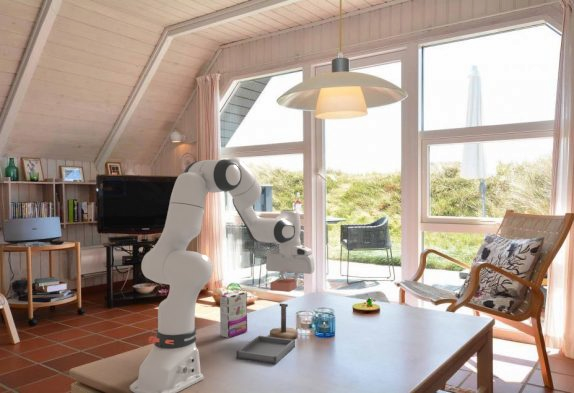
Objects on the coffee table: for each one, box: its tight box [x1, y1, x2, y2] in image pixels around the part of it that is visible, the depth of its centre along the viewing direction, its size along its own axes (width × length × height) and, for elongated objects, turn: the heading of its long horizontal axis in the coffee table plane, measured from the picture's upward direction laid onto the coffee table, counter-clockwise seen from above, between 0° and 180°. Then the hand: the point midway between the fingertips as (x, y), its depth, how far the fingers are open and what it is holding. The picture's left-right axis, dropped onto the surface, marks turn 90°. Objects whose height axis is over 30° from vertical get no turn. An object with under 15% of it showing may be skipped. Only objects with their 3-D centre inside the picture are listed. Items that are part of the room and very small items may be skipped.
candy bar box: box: [219, 290, 248, 339], centre depth 184 cm, size 11×5×16 cm, turn 143°
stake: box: [269, 303, 298, 340], centre depth 181 cm, size 11×11×13 cm
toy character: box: [362, 298, 377, 308], centre depth 221 cm, size 11×12×7 cm
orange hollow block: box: [269, 277, 298, 293], centre depth 183 cm, size 12×8×3 cm, turn 159°
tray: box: [235, 335, 296, 365], centre depth 163 cm, size 19×15×2 cm
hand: (289, 283), depth 187 cm, fingers closed on orange hollow block, 2 cm apart
